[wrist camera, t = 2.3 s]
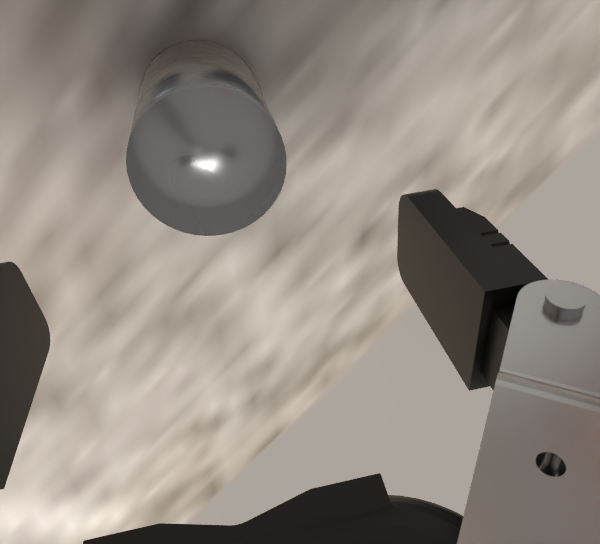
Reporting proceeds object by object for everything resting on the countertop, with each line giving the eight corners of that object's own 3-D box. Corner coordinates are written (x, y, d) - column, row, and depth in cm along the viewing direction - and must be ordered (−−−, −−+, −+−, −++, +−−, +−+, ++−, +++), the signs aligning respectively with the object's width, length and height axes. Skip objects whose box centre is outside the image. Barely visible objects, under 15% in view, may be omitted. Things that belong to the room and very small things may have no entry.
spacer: (125, 49, 17) (103, 101, 12) (250, 32, 18) (276, 75, 13) (158, 167, 20) (151, 247, 15) (266, 149, 20) (293, 221, 16)
